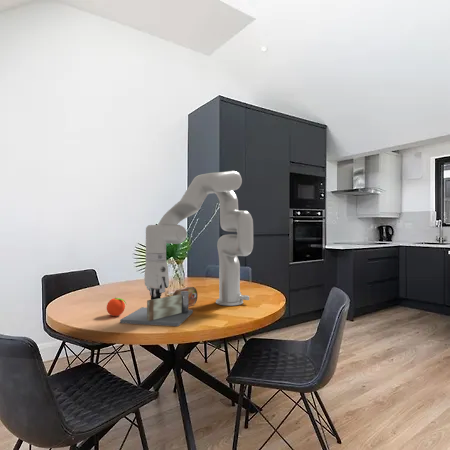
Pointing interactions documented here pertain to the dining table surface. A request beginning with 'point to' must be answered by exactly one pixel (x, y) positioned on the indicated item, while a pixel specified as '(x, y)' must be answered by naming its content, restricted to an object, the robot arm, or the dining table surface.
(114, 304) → the clementine
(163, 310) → the gate
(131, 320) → the board
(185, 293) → the post
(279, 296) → the dining table surface
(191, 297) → the tin
